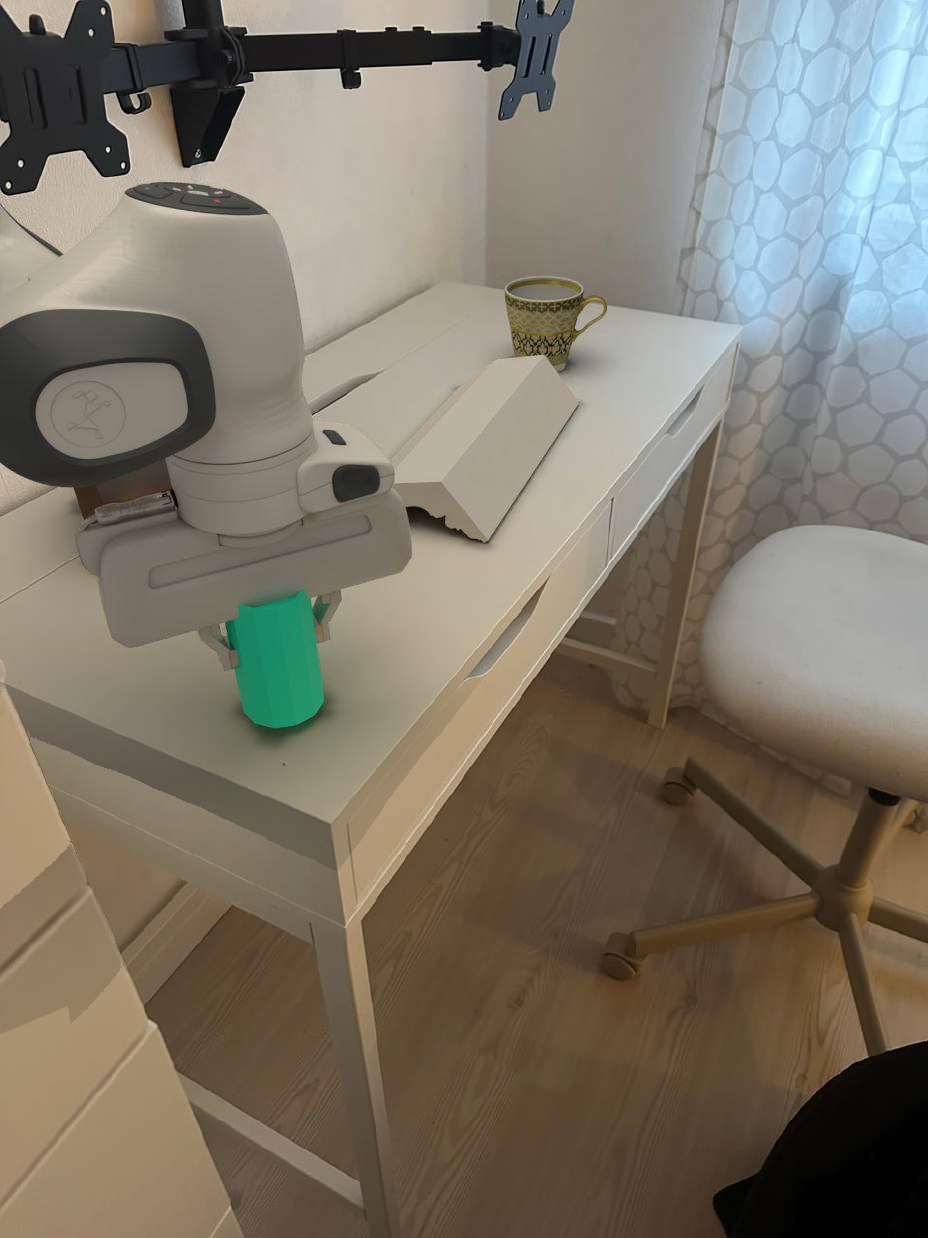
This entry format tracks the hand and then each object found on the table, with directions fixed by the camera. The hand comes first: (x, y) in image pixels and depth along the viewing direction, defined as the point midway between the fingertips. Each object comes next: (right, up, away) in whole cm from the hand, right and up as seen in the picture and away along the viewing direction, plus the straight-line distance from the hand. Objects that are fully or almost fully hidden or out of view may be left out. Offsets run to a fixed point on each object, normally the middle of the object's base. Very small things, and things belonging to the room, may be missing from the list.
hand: (276, 650), depth 63 cm
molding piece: (+14, +20, +35) cm, 43 cm away
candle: (0, -4, +3) cm, 5 cm away
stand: (-14, +13, +27) cm, 34 cm away
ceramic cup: (+25, +35, +55) cm, 70 cm away
